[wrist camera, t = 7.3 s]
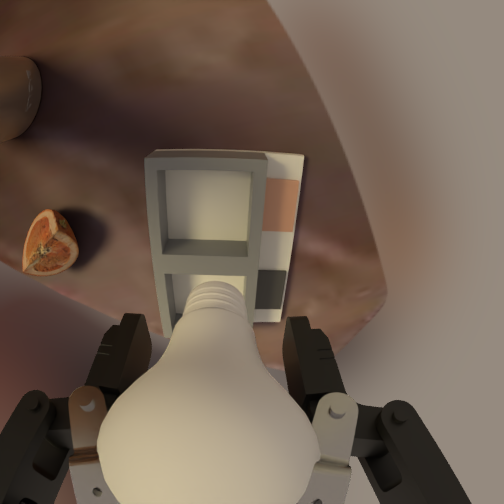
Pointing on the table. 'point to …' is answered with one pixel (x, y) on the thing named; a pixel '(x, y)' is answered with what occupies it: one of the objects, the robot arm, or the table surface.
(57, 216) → the fruit slice
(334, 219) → the table surface
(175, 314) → the socket board
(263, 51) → the table surface
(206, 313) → the lightbulb
